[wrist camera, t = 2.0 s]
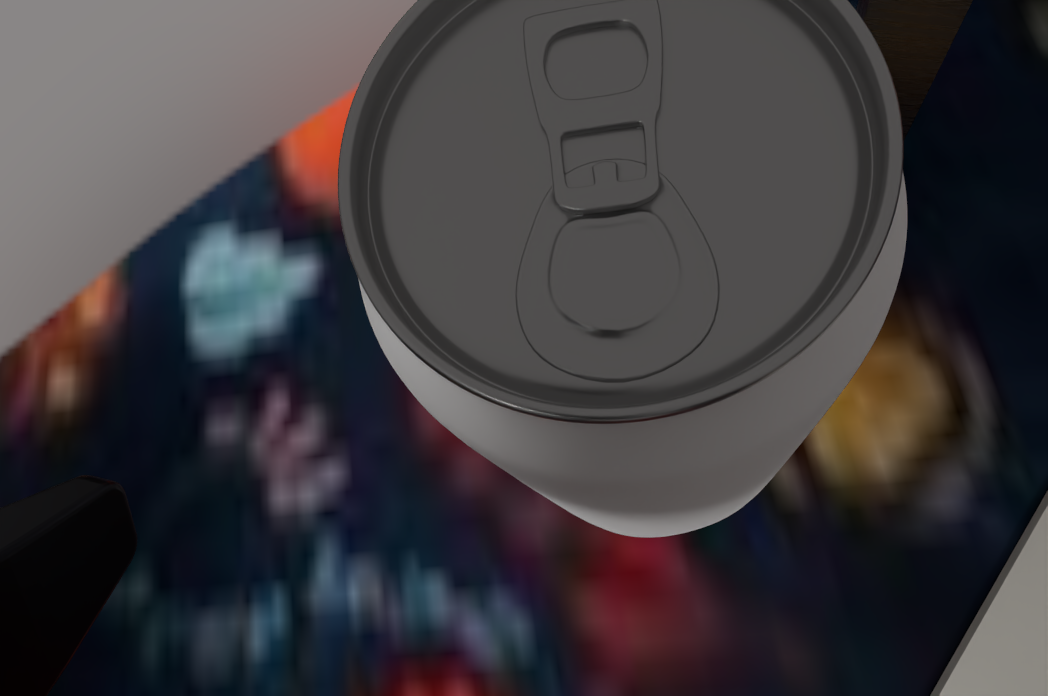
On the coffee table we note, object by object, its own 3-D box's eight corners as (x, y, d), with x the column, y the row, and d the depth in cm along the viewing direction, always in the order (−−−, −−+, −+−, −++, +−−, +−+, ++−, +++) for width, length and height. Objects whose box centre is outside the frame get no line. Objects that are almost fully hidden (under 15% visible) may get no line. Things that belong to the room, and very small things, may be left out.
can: (520, 549, 19) (291, 497, 8) (505, 282, 21) (300, -67, 10) (815, 529, 18) (1026, 437, 7) (773, 250, 20) (889, -180, 9)
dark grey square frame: (876, 196, 20) (991, -40, 13) (529, 151, 22) (449, -76, 14) (884, 139, 20) (1002, -124, 13) (542, 100, 22) (470, -149, 15)
